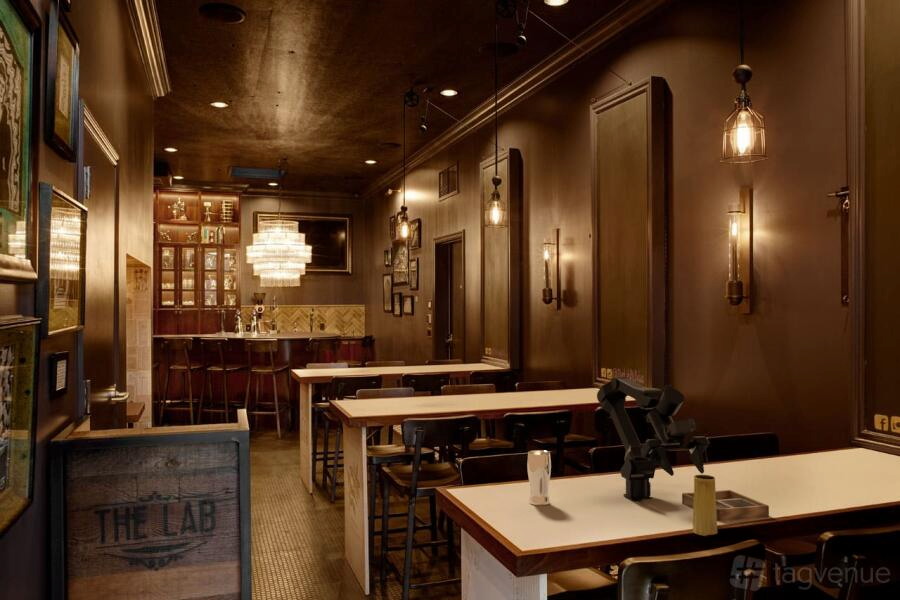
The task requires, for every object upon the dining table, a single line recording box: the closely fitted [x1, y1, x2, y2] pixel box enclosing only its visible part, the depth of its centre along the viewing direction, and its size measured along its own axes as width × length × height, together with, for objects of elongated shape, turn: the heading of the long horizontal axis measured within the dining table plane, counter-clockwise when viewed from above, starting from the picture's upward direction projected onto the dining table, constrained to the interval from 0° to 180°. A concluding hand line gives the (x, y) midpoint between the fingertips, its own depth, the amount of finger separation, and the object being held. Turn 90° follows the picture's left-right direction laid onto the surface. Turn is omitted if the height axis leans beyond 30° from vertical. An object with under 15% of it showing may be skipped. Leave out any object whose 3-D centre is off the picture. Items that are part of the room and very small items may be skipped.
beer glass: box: [526, 449, 552, 507], centre depth 201 cm, size 7×7×15 cm
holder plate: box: [716, 498, 760, 509], centre depth 189 cm, size 9×9×2 cm
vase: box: [692, 474, 718, 537], centre depth 174 cm, size 6×6×14 cm
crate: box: [681, 489, 770, 522], centre depth 192 cm, size 16×17×4 cm
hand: (687, 473), depth 181 cm, fingers open, 9 cm apart
